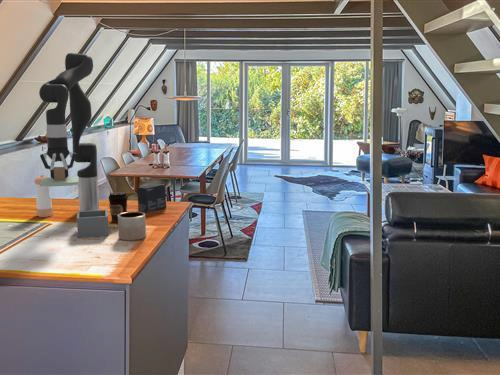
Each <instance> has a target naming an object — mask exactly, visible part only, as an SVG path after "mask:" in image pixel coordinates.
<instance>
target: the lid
mask: <svg viewBox="0 0 500 375" xmlns="http://www.w3.org/2000/svg"><path fill="white" fill-rule="evenodd" d="M75 185H77V186H78V185H79V176H76V175H75V176H68V177H67V179H65V168H64V166H54V179H53V178H51V177H49V178H42V180H41V183H40V186H46V187H49V188H50V187H67V186H68V187H69V186H75Z"/></svg>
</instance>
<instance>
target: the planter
mask: <svg viewBox="0 0 500 375" xmlns="http://www.w3.org/2000/svg"><path fill="white" fill-rule="evenodd" d="M146 222H147V221H146V212H144V211H127V212H124V213H121V214H119V215H118V222H117V230H118V231H117V232H118V238H119V239H120V240H121V241H125V242H135V241H139V240H143V239H145V238H146V237H147V226H146V225H147V224H146Z"/></svg>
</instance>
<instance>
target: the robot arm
mask: <svg viewBox="0 0 500 375" xmlns="http://www.w3.org/2000/svg"><path fill="white" fill-rule="evenodd" d="M64 67H65V70H64V71H62V72H60V73H58V75H57V76H56V77H55V78H54V79H51V80H49V81H47V82H44V83H43V84H42V85H40V86H41V87H40V88H39V91H38V92H39V95H38V96H39V98H40V100H42V101H43V102H44V103H49V104H50V103H52V104H56V106H55V107H54V108H50V109H47V110H46V112H45V119H46V120H45V122H46V130H45V132H46V145H47V150H46V152H44V153H41V154H40V155H39V157H40V159H41V162H42V164H43V167H44V168H45V169H46V170H49V171H50V178H53V179H54V167H55V164H56V163H55V162H62V165H63V167H64V168H65V179H67V177H70V176H69V175H70V174H69V169H71V168H73V166H74V163H78V164H79V163H89V164H88V165H87V166H85V167H84V168H81V169H79V170H78V171H77V174H76V175H77V176H79V185H77V189H78V191H77V192H78V207H79V210H78V211H93V210H100V198H99V196H100V195H99V181H98V180H99V179H98V176H99V175H98V161H97V160H98V149H97V144H96V143H94V142H80V140H81V137H82V135H83V132H84V131H85V130H86V128H87V126H88V125H89V124H90V122H91V120H92V104H91V101H90V99H89V98H88V96H87V95H86V93H85V92H84V90H83V88H82V87H81V85H80V83H79V82H80V81H82V80H84V79H85V78H87V77H88V76H90V75H91V74H92V72H93V69H94V60H93V58H92V56H91V55H89V54H85V53H74V52H69V53H67V54H65V59H64ZM68 101H69V112H70V120H71V121H70V122H71V131H72V132H71V134H72V135H71V136H72V137H71V138H72V139H71V140H72V151H70V150H69V147H68V144H69V143H68V130H67V125H66V124H67V121H66V111H67V110H66V109H67V104H68ZM47 156H48V158H49V159H50V160H51V162H50V165H49V164H48V161H47ZM68 157H70V163H69V164H68V163H67V160H66V159H67V158H68Z"/></svg>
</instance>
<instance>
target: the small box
mask: <svg viewBox="0 0 500 375" xmlns="http://www.w3.org/2000/svg"><path fill="white" fill-rule="evenodd" d="M136 189H137V191H136V192H137V207H138V208H137V209H138V210H137V211H138V212H143V213H150V211H151V212H154V211H158V210H161V209H165V208H167V195H166V184H165V183H157V182H155V183H151V184H145V185H141V186H137V188H136Z"/></svg>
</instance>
